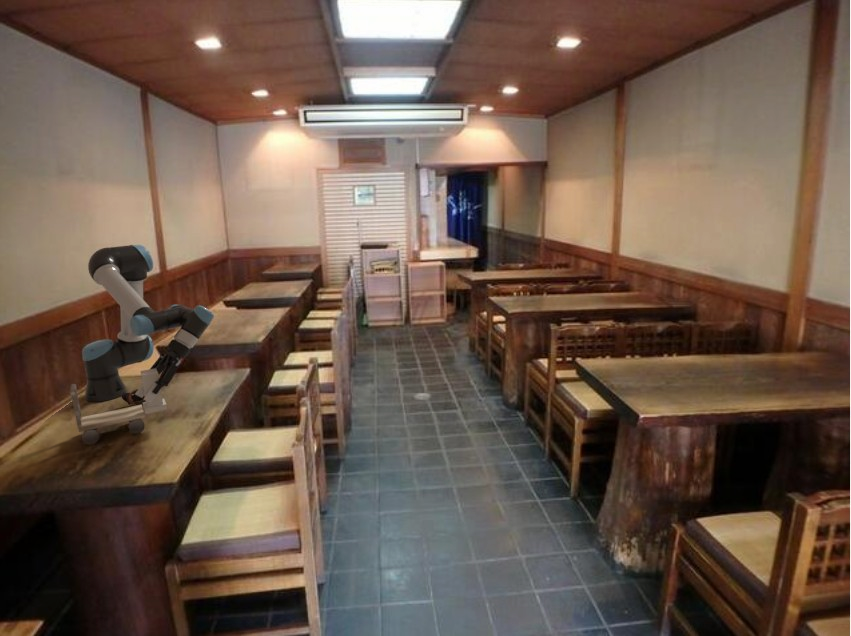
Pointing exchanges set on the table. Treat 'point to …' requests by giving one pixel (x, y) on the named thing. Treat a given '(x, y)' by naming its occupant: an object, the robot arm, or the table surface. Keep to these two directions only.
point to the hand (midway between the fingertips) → (142, 398)
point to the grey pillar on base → (148, 381)
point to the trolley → (106, 419)
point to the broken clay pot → (133, 398)
